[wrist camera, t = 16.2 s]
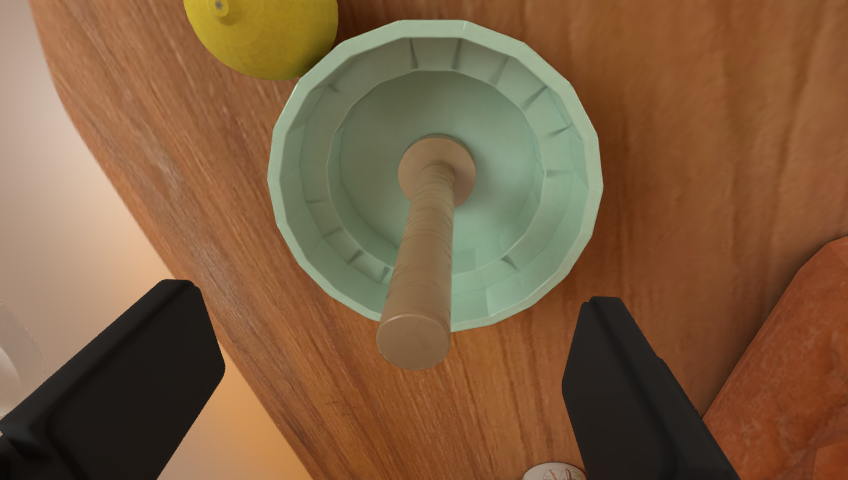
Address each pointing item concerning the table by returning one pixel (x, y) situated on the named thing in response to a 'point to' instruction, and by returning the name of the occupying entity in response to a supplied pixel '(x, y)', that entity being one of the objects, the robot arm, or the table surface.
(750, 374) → the bread
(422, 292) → the wooden peg with base
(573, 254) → the bowl
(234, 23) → the lemon
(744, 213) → the table surface
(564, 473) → the mug
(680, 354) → the table surface
